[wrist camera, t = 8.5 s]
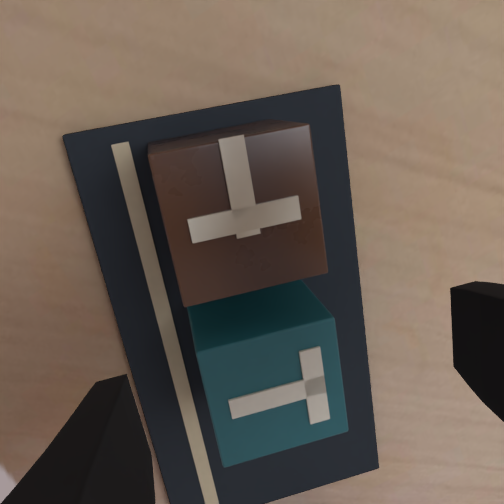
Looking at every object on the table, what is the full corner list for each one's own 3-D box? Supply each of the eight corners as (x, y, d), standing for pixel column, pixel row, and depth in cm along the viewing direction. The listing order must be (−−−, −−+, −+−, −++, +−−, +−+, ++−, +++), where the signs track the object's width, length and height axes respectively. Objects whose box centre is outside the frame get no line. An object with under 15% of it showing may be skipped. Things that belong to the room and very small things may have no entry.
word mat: (177, 522, 22) (178, 532, 22) (64, 134, 16) (61, 135, 16) (375, 461, 24) (380, 469, 23) (335, 84, 18) (341, 84, 17)
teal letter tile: (207, 392, 20) (223, 471, 16) (184, 296, 19) (196, 354, 14) (308, 365, 21) (350, 434, 16) (294, 270, 19) (336, 318, 15)
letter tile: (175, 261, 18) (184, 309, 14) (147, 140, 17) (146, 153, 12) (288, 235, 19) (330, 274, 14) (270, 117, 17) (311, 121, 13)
